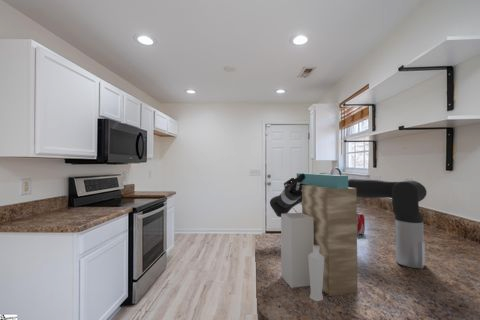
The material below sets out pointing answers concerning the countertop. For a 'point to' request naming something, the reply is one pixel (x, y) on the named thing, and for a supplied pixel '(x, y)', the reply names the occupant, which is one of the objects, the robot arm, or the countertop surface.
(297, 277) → the white block
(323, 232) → the maple stand
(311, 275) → the perfume bottle
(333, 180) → the teal bar
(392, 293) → the countertop surface
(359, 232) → the soda can
